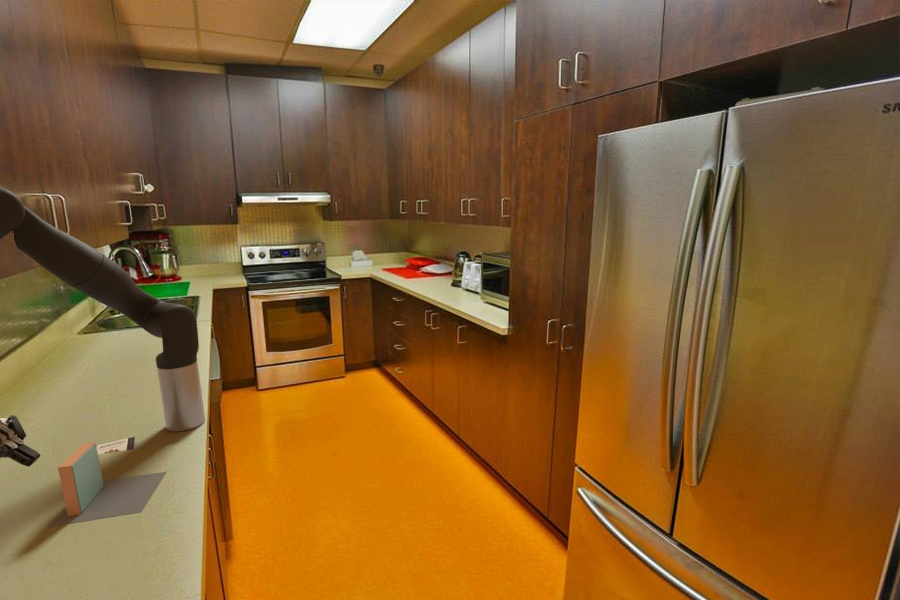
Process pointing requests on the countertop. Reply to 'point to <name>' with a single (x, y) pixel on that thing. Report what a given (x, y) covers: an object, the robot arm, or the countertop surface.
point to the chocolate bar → (116, 446)
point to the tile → (81, 478)
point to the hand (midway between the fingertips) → (35, 461)
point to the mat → (116, 499)
